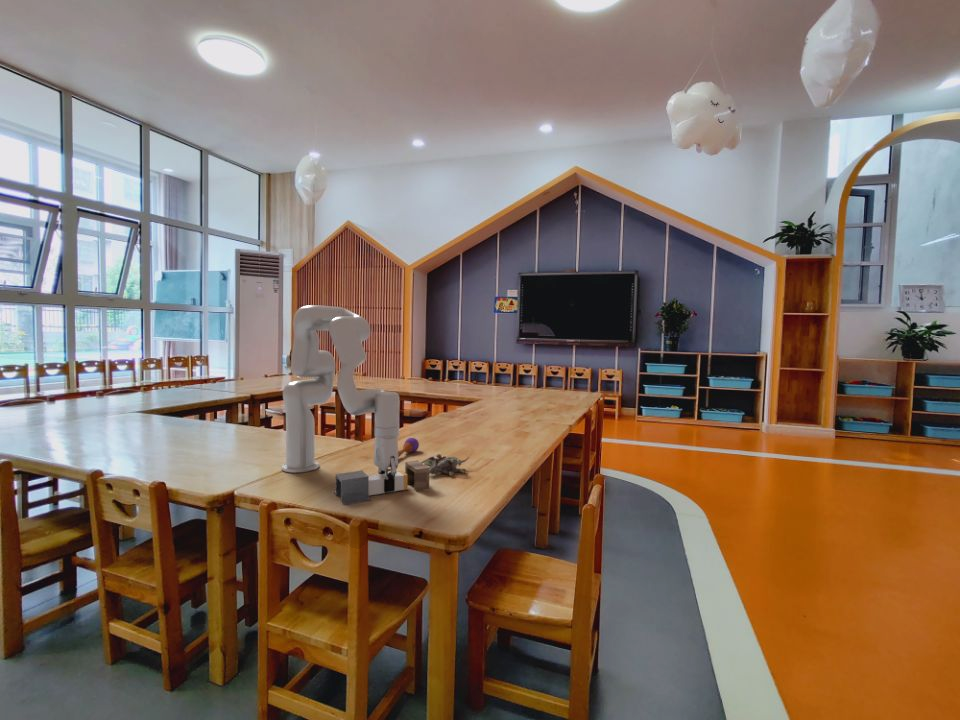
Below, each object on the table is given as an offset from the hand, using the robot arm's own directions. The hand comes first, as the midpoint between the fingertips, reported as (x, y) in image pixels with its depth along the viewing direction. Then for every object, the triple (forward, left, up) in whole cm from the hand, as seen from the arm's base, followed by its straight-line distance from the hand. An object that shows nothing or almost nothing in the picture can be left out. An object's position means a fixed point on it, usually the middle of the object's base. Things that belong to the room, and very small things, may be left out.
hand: (386, 488), depth 149 cm
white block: (0, -3, -1) cm, 3 cm away
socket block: (0, +10, -1) cm, 10 cm away
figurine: (-11, +24, -1) cm, 27 cm away
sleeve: (0, -11, -1) cm, 11 cm away
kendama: (-36, +20, -1) cm, 41 cm away
